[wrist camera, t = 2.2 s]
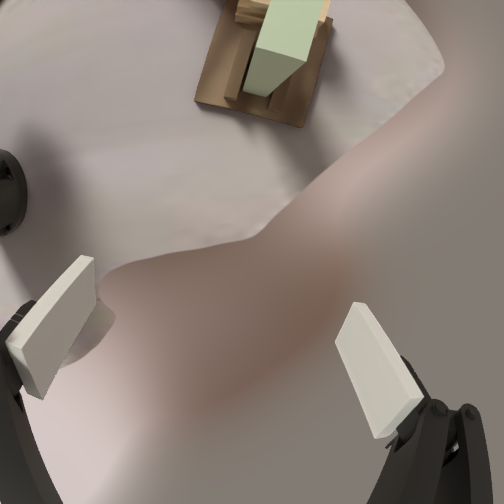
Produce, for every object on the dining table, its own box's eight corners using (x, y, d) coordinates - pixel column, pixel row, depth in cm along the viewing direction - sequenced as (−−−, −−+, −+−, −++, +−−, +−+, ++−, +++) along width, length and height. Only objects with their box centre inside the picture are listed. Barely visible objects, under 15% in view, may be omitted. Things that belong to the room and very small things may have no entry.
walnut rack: (195, 101, 33) (190, 98, 29) (230, -6, 26) (230, -20, 22) (300, 127, 35) (308, 127, 31) (329, 22, 29) (340, 11, 24)
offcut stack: (235, 21, 27) (236, -1, 21) (245, -7, 25) (248, -32, 19) (311, 42, 29) (328, 25, 22) (319, 13, 27) (337, -7, 20)
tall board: (242, 91, 31) (255, 47, 13) (254, 49, 29) (280, -27, 11) (266, 97, 32) (306, 61, 14) (278, 55, 30) (327, -12, 11)
